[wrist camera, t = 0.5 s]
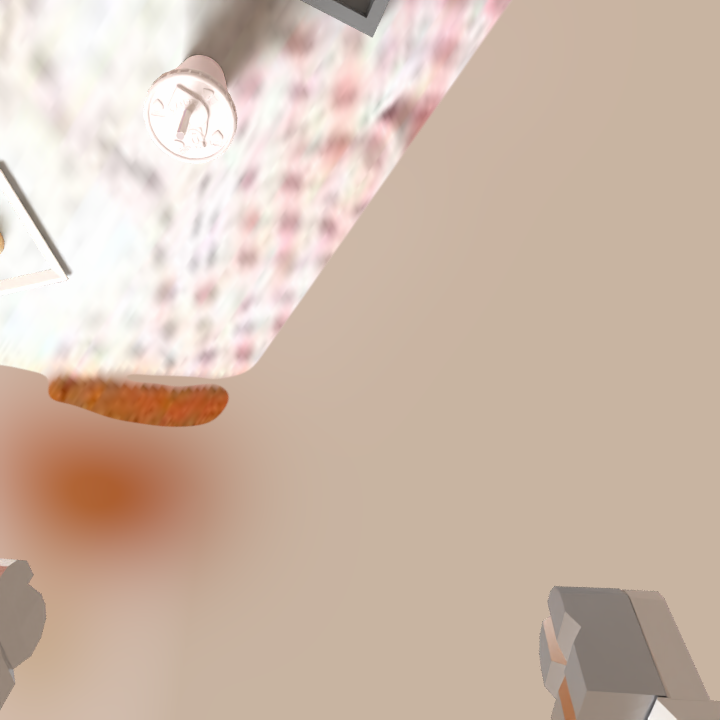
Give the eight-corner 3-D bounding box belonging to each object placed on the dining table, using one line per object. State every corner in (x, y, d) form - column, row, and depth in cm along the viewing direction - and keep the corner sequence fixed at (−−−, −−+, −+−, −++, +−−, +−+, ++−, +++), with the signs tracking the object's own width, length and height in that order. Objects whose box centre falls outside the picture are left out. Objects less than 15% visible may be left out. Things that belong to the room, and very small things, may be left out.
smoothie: (227, 27, 47) (214, 82, 37) (251, 109, 52) (246, 179, 41) (148, 46, 48) (113, 105, 37) (179, 126, 52) (156, 199, 41)
